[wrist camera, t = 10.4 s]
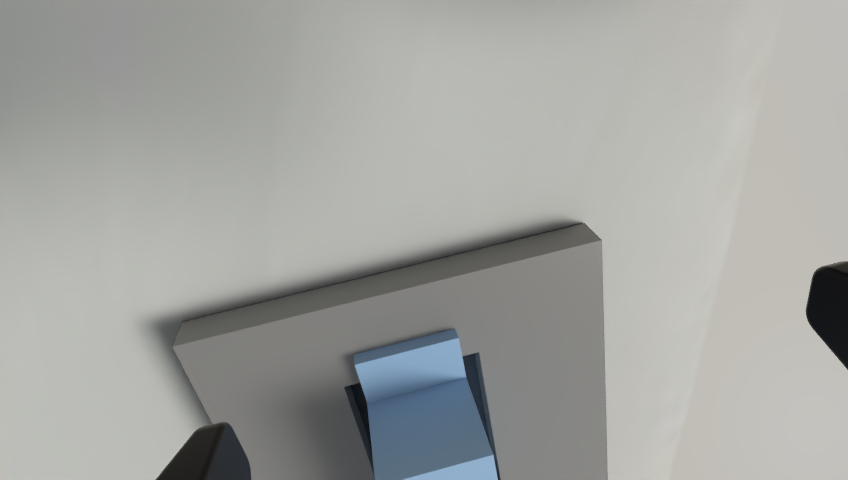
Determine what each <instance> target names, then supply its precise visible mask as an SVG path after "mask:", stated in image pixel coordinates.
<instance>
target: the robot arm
mask: <svg viewBox="0 0 848 480" xmlns="http://www.w3.org/2000/svg"><path fill="white" fill-rule="evenodd" d="M806 316H807V319H808V322H809V324H810V325H811V327H812V328H813V329H814V330H815V332H816V333H817V334H818V335H819V336H820V338H821V339H822V340H823V341H824V342H825V343H826V345H827V346H828V347H829V348H830V349H831V350H832V352H833V353H834V354H835V355H836V356H837V358H838V359H839V360H840V361H841V362H842V363H843V364H844V366H845V367H846V368H847V369H848V262H846V261H844V262H838V263H834V264H830V265H826V266H822V267H820V268H818V269H817V270H816V271H815V272H814V274H813V277H812V281H811V286H810V292H809V297H808V302H807V307H806ZM156 480H251V469H250V464H249V460H248V458H247V456H246V454H245V452H244V450H243V448H242V446H241V444H240V442H239V440H238V438H237V436H236V434H235V432H234V430H233V428H232V426H231V425H230V424H229V423H227V422H219V423H215V424H212V425H208V426H204V427H201V428H199V429H197V430H196V431H195V432H194V433H193V434H192V436H191V437H190V438H189V439H188V440H187V442H186V443H185V444H184V445H183V447H182V448H181V449H180V450H179V452H178V453H177V454H176V455H175V457H174V458H173V459H172V460H171V461H170V463H169V464H168V465H167V466H166V468H165V469H164V470H163V471H162V473H161V474H160V475H159V476H158V478H157V479H156Z"/></svg>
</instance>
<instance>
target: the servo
mask: <svg viewBox="0 0 848 480" xmlns="http://www.w3.org/2000/svg"><path fill="white" fill-rule="evenodd" d="M354 364H355V368H356V371H357V374H358V377H359V380H360V383H361V386H362V389H363V392H364V395H365V398H366V402H367V407H368V417H369V427H370V437H371V446H372V456H373V466H374V476H375V480H498V478H497V472H496V466H495V461H494V455H493V452H492V449H491V446H490V444H489V441H488V438H487V435H486V432H485V429H484V426H483V424H482V421H481V418H480V415H479V412H478V409H477V406H476V404H475V401H474V398H473V395H472V392H471V389H470V386H469V383H468V381H467V378H466V373H465V368H464V363H463V358H462V352H461V347H460V342H459V338H458V335H457V332H456V329H451V330H448V331H444V332H440V333H436V334H432V335H428V336H424V337H420V338H417V339H413V340H409V341H405V342H401V343H397V344H393V345H389V346H385V347H382V348H378V349H374V350H370V351H366V352H362V353H358V354H354Z"/></svg>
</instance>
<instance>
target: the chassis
mask: <svg viewBox="0 0 848 480" xmlns="http://www.w3.org/2000/svg"><path fill="white" fill-rule="evenodd" d="M451 329H456V332H457V335H458V338H459V342H460V347H461V352H462V356H466V355H470V354H474V356H475V362H476V367H477V373H478V379H479V384H480V390H481V396H482V401H483V407H484V413H485V418H486V424H487V430H488V435H489V441H490V446H491V449H492V452H493V455H494V461H495V466H496V472H497V478H498V480H608V472H607V431H606V391H605V351H604V310H603V270H602V240H601V239H600V238H599V237H598V236H597V235H596V234H595V233H594V232H593V231H592V230H591V229H590V228H589V227H588V226H587V225H586V224H585V223H583V224H579V225H575V226H571V227H567V228H563V229H559V230H555V231H551V232H547V233H542V234H538V235H534V236H530V237H526V238H522V239H518V240H514V241H510V242H506V243H502V244H498V245H494V246H490V247H485V248H481V249H477V250H473V251H469V252H465V253H461V254H457V255H453V256H449V257H445V258H441V259H437V260H433V261H429V262H424V263H420V264H416V265H412V266H408V267H404V268H400V269H396V270H392V271H388V272H384V273H380V274H376V275H372V276H367V277H363V278H359V279H355V280H351V281H347V282H343V283H339V284H335V285H331V286H327V287H323V288H319V289H315V290H310V291H306V292H302V293H298V294H294V295H290V296H286V297H282V298H278V299H274V300H270V301H266V302H262V303H258V304H254V305H249V306H245V307H241V308H237V309H233V310H229V311H225V312H221V313H217V314H213V315H209V316H205V317H201V318H197V319H192V320H188V321H184V322H182V323H181V325H180V328H179V331H178V333H177V336H176V338H175V341H174V343H173V346H172V348H173V350H174V352H175V353H176V355H177V357H178V359H179V361H180V363H181V365H182V367H183V369H184V371H185V373H186V375H187V376H188V378H189V380H190V382H191V384H192V386H193V388H194V390H195V392H196V394H197V396H198V397H199V399H200V401H201V403H202V405H203V407H204V409H205V411H206V413H207V415H208V417H209V419H210V420H211V422H212V424H215V423H219V422H227V423H229V424H230V425H231V426H232V428H233V430H234V432H235V434H236V436H237V438H238V440H239V442H240V444H241V446H242V448H243V450H244V452H245V454H246V456H247V458H248V460H249V464H250V469H251V480H375V476H374V466H373V456H372V449H371V446H370V443H369V440H368V437H367V434H366V431H365V428H364V425H363V422H362V419H361V416H360V413H359V410H358V407H357V404H356V401H355V398H354V395H353V392H352V389H351V386H350V385H354V384H358V383H360V380H359V377H358V374H357V371H356V368H355V364H354V354H358V353H362V352H366V351H370V350H374V349H378V348H382V347H385V346H389V345H393V344H397V343H401V342H405V341H409V340H413V339H417V338H420V337H424V336H428V335H432V334H436V333H440V332H444V331H448V330H451Z"/></svg>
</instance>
